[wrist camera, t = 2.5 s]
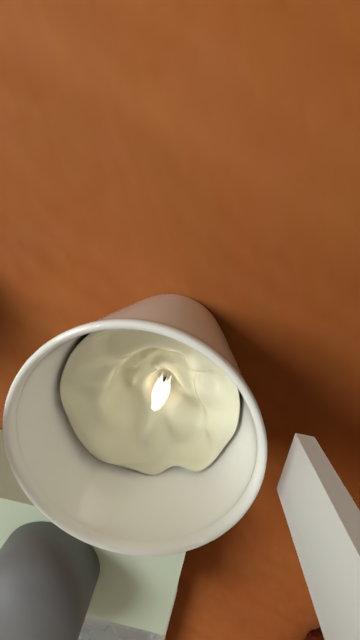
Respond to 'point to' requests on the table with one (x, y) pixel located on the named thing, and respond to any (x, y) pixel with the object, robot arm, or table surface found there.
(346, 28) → the table surface
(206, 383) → the candle holder
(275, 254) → the table surface
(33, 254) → the table surface
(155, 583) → the push-button box
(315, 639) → the fruit
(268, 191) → the table surface
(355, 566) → the robot arm
